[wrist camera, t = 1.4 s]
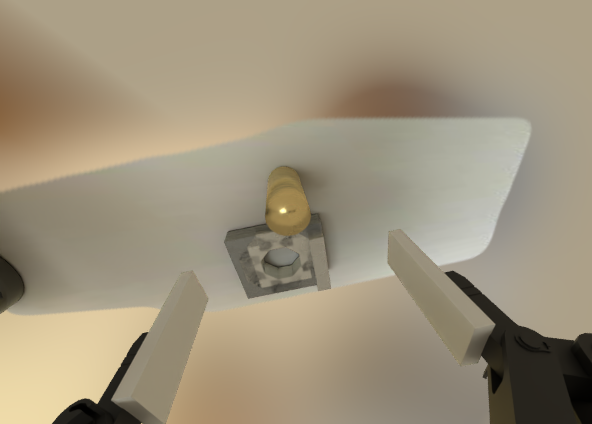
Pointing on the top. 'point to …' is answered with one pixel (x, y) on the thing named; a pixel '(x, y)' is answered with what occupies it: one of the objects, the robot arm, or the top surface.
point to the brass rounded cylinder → (286, 203)
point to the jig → (268, 279)
